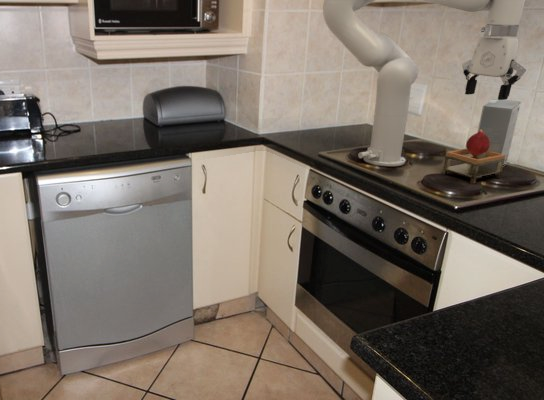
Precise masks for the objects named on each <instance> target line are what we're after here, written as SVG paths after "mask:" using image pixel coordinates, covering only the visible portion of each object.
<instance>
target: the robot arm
mask: <svg viewBox="0 0 544 400" xmlns="http://www.w3.org/2000/svg"><path fill="white" fill-rule="evenodd" d="M375 1H376V0H323V4H322V16H323V19H324V22H325V24H326V27H327V28H328V29H329V31H330V32H331V33H332V34H333V35H334V36H335V38H337V40H339V41H340V43H342V45H343V46H344V47H345V48H346V49H347V51H349V52H350V53H351V55H353V56H354V58H355V59H356V60H357V61H358V62H359V63H360V64H361V65H363V66H365V67H369V68H371V67H372V68H374V70H375V71H377V72H378V75H377V79H376V92H375V93H376V94H375V96H376V97H375V104H374V107H375V108H374V115H373V122H372V129H371V137H370V144H369V147H367V150H366V151H360V152H358V154H357V155H358V158H359V159H363V161H364V162H365V163H368V164H370V165H373V166H380V167H401V166H403V165H405V164H406V158H405V157H403V156H402V152H403V145H404V139H405V133H406V127H407V122H408V121H407V120H408V112H409V108H410V107H409V106H410V99H411V88H412V85H413V84H414V83H415V82H416V81H417V78H418V75H419V69H418V66H417V64H416V62H415V61H414V60H413V58H411V57H410V56H409V54H407V53H406V52H405V51H404V50H403V49H402V48H401V46H399V45H398V44H397V43H396V42H395V40H393V39H392V38H391V37H389V36H387V35H385V34H384V33H383V34H382V33H376V32H375V31H374V30H373V29H372V28H371V27H370V26H369V25H368V24H367V23H366V22H365V21H364V20H363V19H361V17H359V16H358V15H357V14H356V13H355V12H356V11H358V10H360V9H362V8H364V7H366V6H367V5H370V4H372V3H373V2H375ZM414 1H415V2H419V3H428V4H429V3H430V4H434V5H439V6H442V7H443V6H444V7H448V8H452V9H456V10H460V11H463V12H469V13H476V12H485V11H488V14H487V19H486V23H485V26H483V27H481V28H480V29H481V30H480V32H481V33H483V36H480V37H479V39H478V41H477V43H476V45H475V48H474V50H473V54H472V57H471V59H469V60H466V61H464V62H462V64H461V66H462V70H463V75H464V76H465V80H466V85H465V92H464V94H465V95H467V96H468V95H475V92H476V89H477V85H478V79H477V78H478V77H479V76H484V77H492V78H500V79H501V82H502V84H501V85H500V87H499V92H498V95H497V99H498V100H508V97H510V94H511V90H512V86H513V85H514V84H515V83H516V82H518V81H519V80H520V79H521V78H522V77H523V75H525V73H526V72H527V69H526V67H523V66H522V65H521V64H519V63H518V62H517V58H518V52H519V38H517V35H518V31H519V27H520V23H521V20H522V15H523V11H524V7H525V4H526V0H414ZM514 72H515V74H514ZM513 74H514V75H513Z"/></svg>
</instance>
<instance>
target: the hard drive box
mask: <svg viewBox="0 0 544 400" xmlns="http://www.w3.org/2000/svg"><path fill="white" fill-rule="evenodd" d="M521 103H522V102H521V101H520V100H511V99H506V100H498V98H493V99H491V100H490V101H488V102H486V103H485V104H484V105H483V106H482V109H481V114H480V117H479V123H478V128H477V132H476V133H478V132H479V130H480V129H481V130H483V133H484V134H485V135H487V137H488V138H489V141H490V146H489V149H488V150H487V151H490V152H495V153H499V154H504V155H506V156H505V160H504V164H505V165H504V166H503V168H504V167H505V166H506V164H507V163H508V158H509V156H510V155H509V154H510V151H511V147H512V146H511V145H512V142H513V137H514V133H515V129H516V124H517V121H518V116H519V112H520V108H521ZM483 154H486V152H485V153H483ZM481 167H487V168H492V169H496V170H497V167H498V162H496V163H491V164H486V165H481ZM495 175H496V174H495ZM495 175H494V176H495Z"/></svg>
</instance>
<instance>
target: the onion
mask: <svg viewBox="0 0 544 400" xmlns="http://www.w3.org/2000/svg"><path fill="white" fill-rule="evenodd" d="M477 132H478V131H477ZM477 132H476V133H473V134H472V135H471V136H470V137H469V138H468V139H467V140H466V146H465V147H466V148H467V149H468V151H469V152H470V153H471V154H472V155H473V156H474V157H476V156H479V155H481V154H483V153H485V152H486V151H487V150H488V149H489V146H490V141H489V138H488V137H487V135H485V134H484V133H483V130H481V129H480V130H479V132H478V133H477Z"/></svg>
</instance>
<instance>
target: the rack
mask: <svg viewBox="0 0 544 400" xmlns="http://www.w3.org/2000/svg"><path fill="white" fill-rule="evenodd" d="M505 156H506V155H504V154H499V153H495V152H490V151H486V154H481V155H479V156H476V157H474V156H473V155H472V154H471V153H470V152H469V151H468V149H467V147H466V148H461V149H456V150H455V149H454V150H450V151H446V152H445V157H444V161H443V168H442V172H441V173H442V175H448V173H453V174H456V175H459V176H463V177H466V178H470V179H469V180H470V181H469V183H470V184H472V185H475V184H476V182H477V179H481V178H483V177H482V176H485V175H490V176H492V175H491V174H497V173H501V175H494V178H495V179H501V178H502V177H501V176H502V172H503V168H504V167H503V165H504V160H505ZM451 160H452V161H455V162H460V163H461V164H455V165H451V166H450V163H451ZM496 162H498V167H497V170H496V169H492V168H487V167H481V165H486V164H491V163H496Z"/></svg>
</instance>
